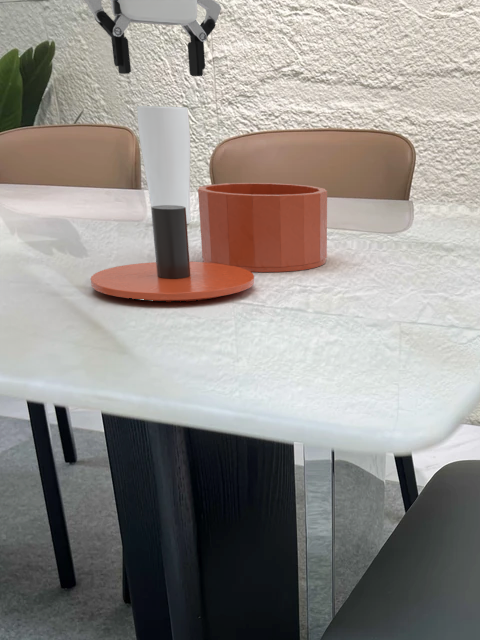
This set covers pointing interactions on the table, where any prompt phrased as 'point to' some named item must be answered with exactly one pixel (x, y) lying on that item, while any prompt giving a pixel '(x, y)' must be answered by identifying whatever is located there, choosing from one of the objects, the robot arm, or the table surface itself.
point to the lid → (172, 268)
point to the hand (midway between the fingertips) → (161, 74)
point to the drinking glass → (166, 154)
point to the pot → (263, 226)
